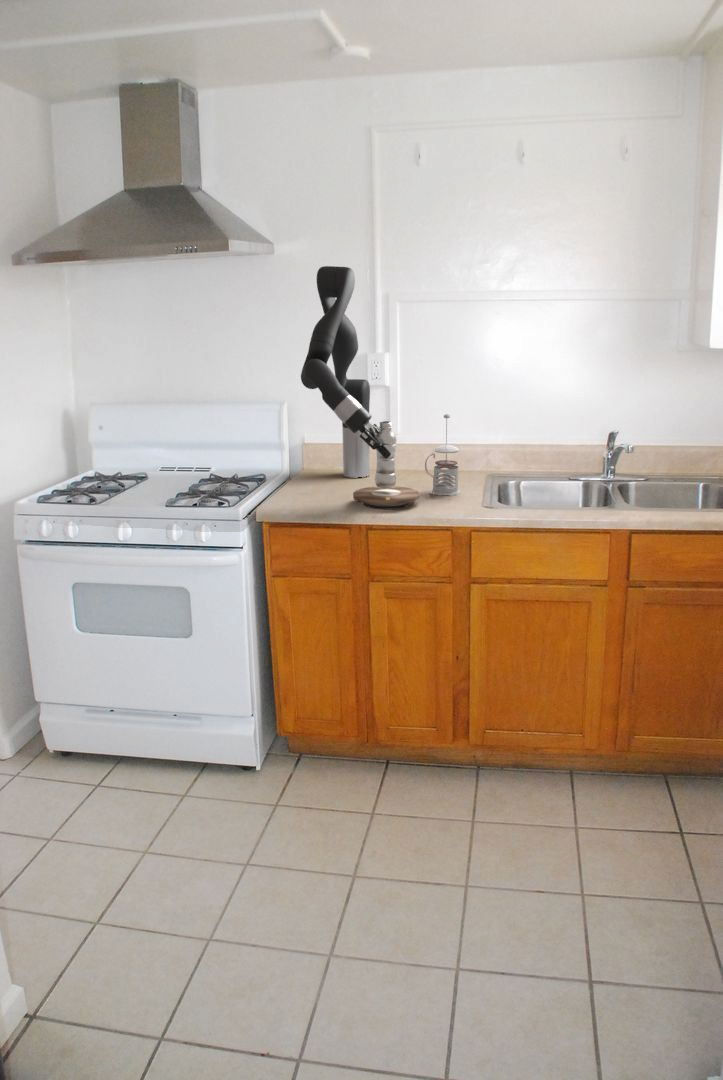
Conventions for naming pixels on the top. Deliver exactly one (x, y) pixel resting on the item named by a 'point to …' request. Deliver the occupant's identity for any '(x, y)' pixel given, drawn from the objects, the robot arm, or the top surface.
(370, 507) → the turntable base
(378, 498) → the turntable platter
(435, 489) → the french press
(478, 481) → the top surface
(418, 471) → the top surface
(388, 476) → the plastic bottle
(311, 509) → the top surface
